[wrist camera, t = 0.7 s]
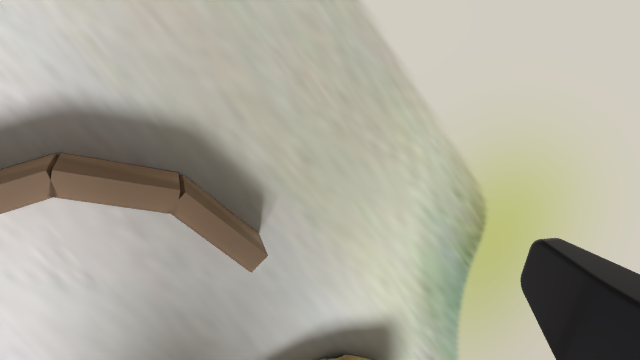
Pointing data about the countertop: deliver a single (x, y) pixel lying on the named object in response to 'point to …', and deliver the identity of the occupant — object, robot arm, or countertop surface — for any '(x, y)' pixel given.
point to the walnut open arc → (131, 197)
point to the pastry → (348, 358)
